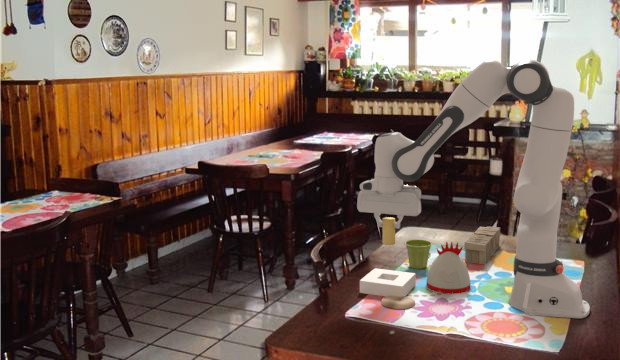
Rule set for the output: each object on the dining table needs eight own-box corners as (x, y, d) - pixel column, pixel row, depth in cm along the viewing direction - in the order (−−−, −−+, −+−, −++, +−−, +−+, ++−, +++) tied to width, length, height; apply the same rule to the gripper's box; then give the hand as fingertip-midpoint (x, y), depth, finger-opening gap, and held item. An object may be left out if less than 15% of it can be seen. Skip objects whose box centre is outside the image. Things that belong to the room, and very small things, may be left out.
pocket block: (415, 285, 212) (415, 273, 211) (402, 298, 199) (402, 286, 199) (374, 279, 218) (374, 268, 217) (359, 292, 205) (359, 280, 205)
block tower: (479, 246, 261) (462, 263, 235) (480, 225, 260) (463, 240, 234) (500, 248, 257) (484, 266, 231) (500, 227, 256) (485, 242, 230)
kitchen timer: (471, 295, 202) (472, 248, 200) (426, 292, 205) (426, 246, 202) (469, 280, 216) (470, 237, 213) (427, 278, 218) (427, 235, 216)
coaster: (419, 300, 198) (419, 298, 198) (409, 311, 189) (409, 309, 189) (387, 295, 202) (387, 293, 202) (376, 306, 194) (376, 304, 193)
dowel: (396, 242, 207) (396, 217, 206) (392, 245, 203) (392, 220, 202) (384, 241, 209) (384, 216, 207) (380, 244, 205) (380, 219, 204)
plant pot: (433, 270, 227) (434, 246, 226) (406, 270, 227) (406, 246, 226) (429, 262, 236) (429, 239, 235) (403, 262, 236) (403, 239, 235)
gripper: (424, 184, 201) (423, 228, 203) (362, 181, 210) (362, 222, 212) (418, 188, 196) (418, 232, 198) (354, 184, 204) (355, 227, 207)
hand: (388, 227), depth 205 cm, fingers closed on dowel, 4 cm apart
